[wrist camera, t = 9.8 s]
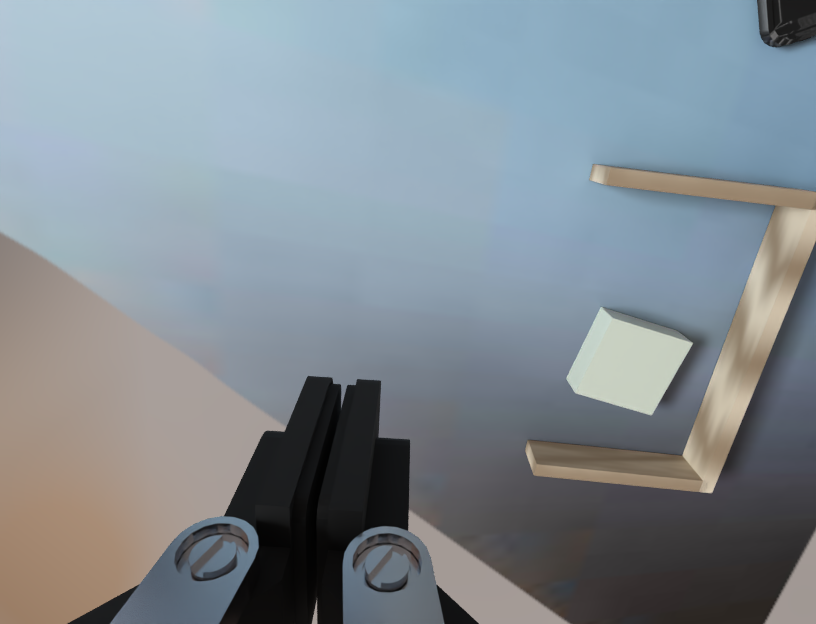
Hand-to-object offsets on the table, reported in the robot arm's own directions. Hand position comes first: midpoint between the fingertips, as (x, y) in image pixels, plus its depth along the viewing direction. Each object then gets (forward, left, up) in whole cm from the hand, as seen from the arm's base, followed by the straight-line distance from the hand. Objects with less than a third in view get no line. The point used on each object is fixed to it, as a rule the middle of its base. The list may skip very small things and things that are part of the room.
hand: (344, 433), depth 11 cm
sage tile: (+7, +18, -24) cm, 30 cm away
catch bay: (+5, +19, -23) cm, 30 cm away
